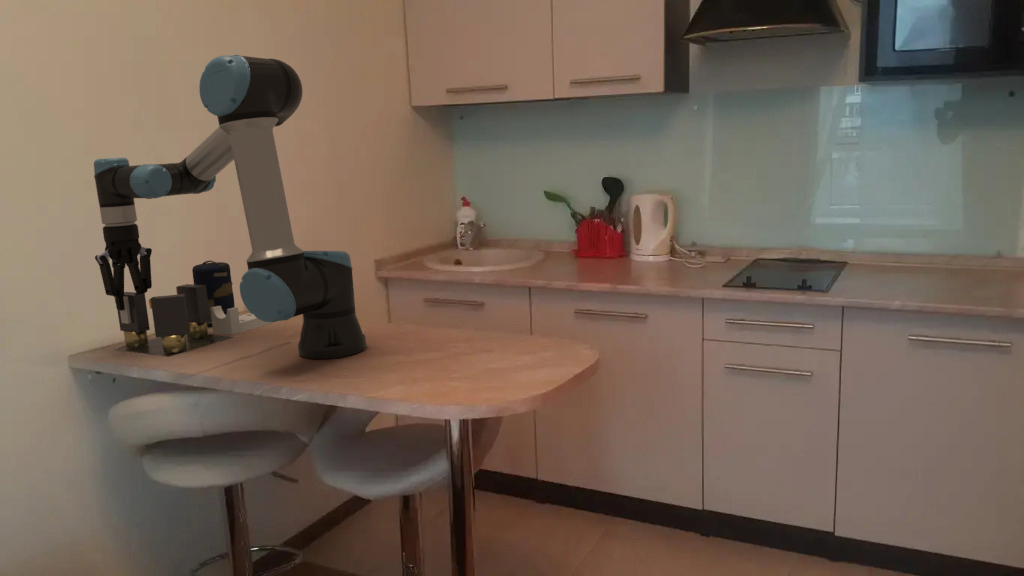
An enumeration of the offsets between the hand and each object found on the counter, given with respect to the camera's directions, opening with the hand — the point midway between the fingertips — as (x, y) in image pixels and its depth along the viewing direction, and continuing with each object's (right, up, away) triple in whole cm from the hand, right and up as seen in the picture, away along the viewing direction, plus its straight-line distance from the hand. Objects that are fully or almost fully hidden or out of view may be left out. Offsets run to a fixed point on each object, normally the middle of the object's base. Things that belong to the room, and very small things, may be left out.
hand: (133, 321), depth 191 cm
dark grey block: (+13, -7, -6) cm, 15 cm away
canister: (+12, -3, +23) cm, 26 cm away
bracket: (+21, -4, +16) cm, 27 cm away
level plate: (+9, -6, +3) cm, 11 cm away
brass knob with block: (0, -6, +1) cm, 6 cm away
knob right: (+12, -4, +8) cm, 15 cm away
